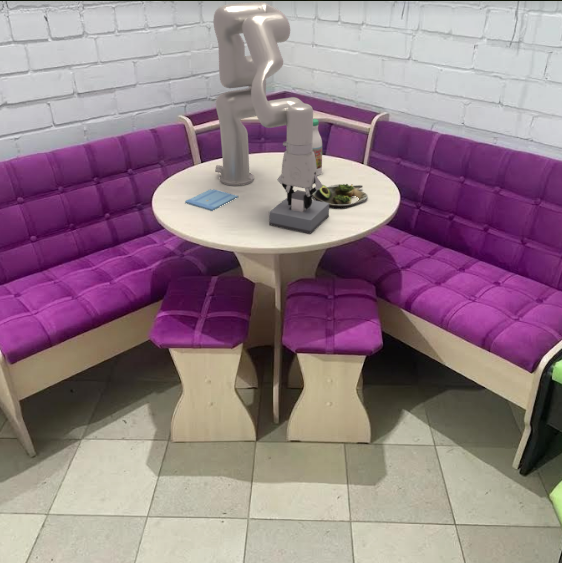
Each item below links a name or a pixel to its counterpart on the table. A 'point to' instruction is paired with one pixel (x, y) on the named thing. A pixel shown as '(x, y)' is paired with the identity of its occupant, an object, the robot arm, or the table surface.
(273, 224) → the block
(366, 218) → the table surface
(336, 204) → the salad plate
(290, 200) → the robot arm
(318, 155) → the milk bottle
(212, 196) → the blue striped cloth
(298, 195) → the block
